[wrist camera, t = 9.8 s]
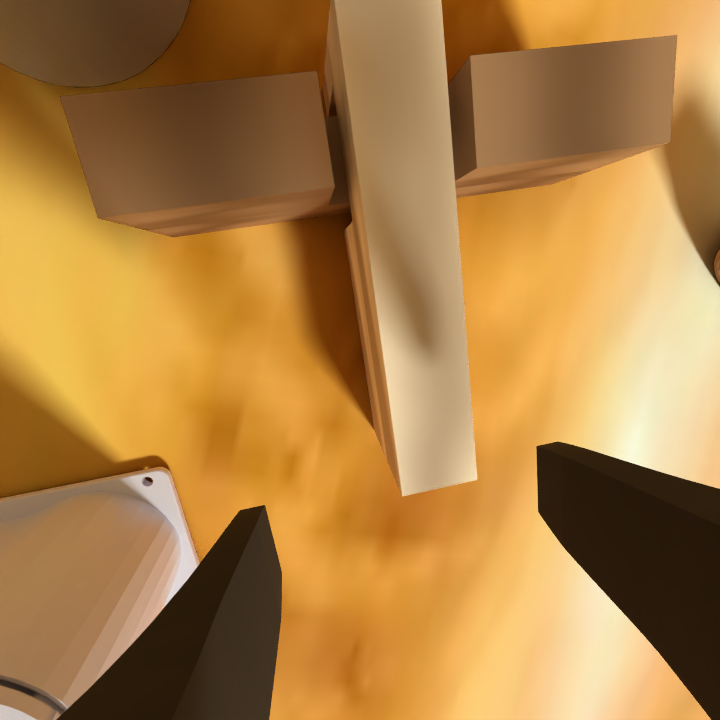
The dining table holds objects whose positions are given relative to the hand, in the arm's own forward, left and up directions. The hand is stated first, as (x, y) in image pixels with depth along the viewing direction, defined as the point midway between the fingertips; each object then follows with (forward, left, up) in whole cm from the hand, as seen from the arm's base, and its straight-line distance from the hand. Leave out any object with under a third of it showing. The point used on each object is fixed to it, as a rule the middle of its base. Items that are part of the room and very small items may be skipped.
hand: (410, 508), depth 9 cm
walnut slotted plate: (+2, +10, -10) cm, 14 cm away
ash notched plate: (+2, +6, -10) cm, 12 cm away
